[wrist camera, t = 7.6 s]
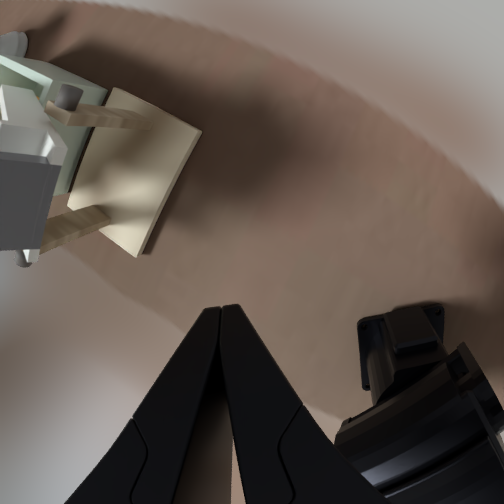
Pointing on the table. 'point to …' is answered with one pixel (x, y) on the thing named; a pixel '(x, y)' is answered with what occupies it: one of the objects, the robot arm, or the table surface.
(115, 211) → the stand
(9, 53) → the rook chess piece
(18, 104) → the chute
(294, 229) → the table surface
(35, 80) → the pale green open box
